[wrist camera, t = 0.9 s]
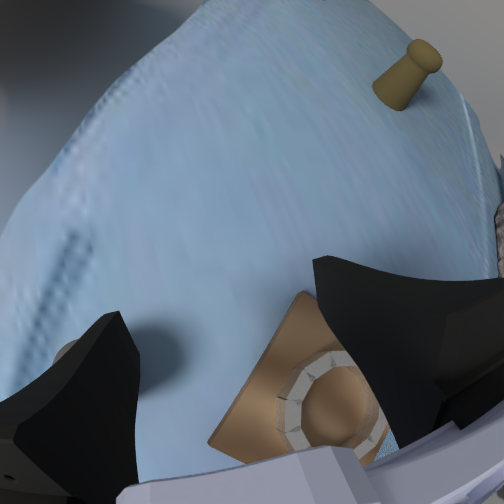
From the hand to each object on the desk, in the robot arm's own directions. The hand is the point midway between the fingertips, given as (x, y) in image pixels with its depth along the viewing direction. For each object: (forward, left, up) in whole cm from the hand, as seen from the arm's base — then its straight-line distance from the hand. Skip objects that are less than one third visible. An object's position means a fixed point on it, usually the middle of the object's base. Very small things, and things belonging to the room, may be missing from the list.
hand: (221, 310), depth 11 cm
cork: (+42, -5, -13) cm, 44 cm away
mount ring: (+1, -13, -13) cm, 18 cm away
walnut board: (+1, -13, -13) cm, 18 cm away
